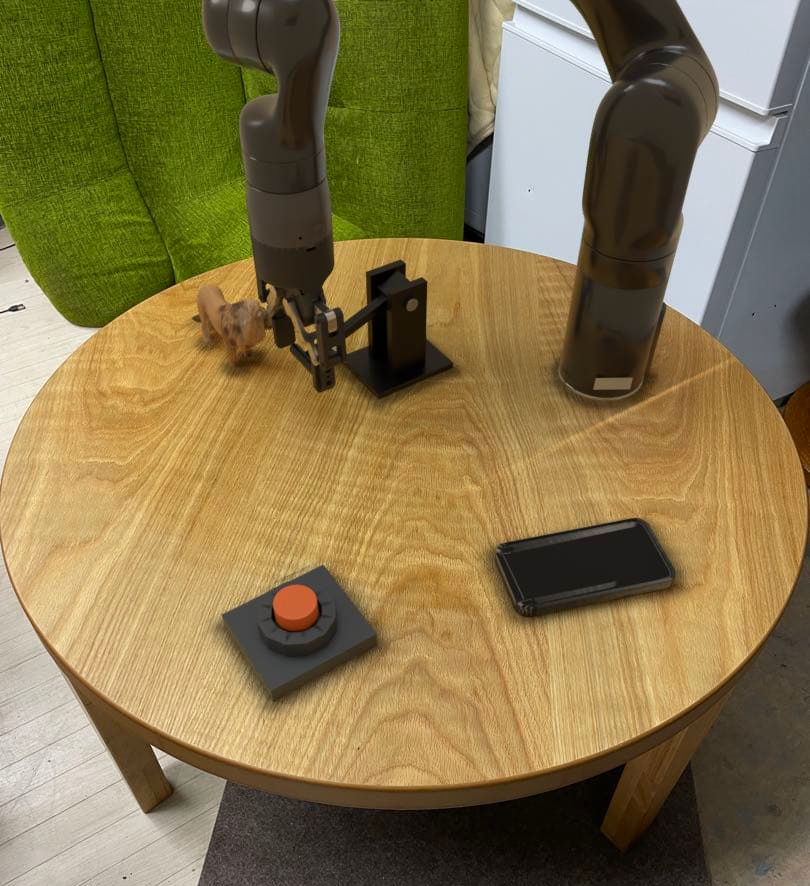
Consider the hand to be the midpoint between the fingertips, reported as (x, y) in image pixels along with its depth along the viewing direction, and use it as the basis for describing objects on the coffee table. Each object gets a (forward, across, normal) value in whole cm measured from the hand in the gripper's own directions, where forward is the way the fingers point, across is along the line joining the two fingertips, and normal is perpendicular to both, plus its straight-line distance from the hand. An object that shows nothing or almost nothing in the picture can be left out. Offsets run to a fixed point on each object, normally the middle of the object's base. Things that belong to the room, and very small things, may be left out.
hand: (304, 366), depth 91 cm
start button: (+2, +27, -15) cm, 31 cm away
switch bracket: (+5, 0, +11) cm, 12 cm away
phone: (+5, +34, +10) cm, 36 cm away
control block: (+5, +27, -15) cm, 31 cm away
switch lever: (-2, 0, +6) cm, 7 cm away
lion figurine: (+5, -13, -3) cm, 14 cm away
